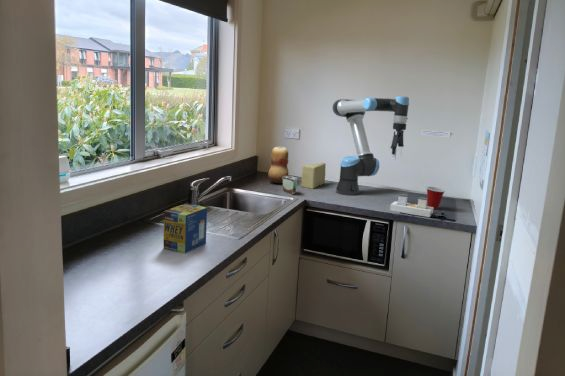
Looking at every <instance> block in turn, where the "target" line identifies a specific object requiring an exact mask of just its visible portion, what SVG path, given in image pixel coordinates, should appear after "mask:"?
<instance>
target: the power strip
mask: <svg viewBox="0 0 565 376" xmlns="http://www.w3.org/2000/svg"><path fill="white" fill-rule="evenodd" d="M417 206H418V204H416V203H410V202H409V203H408V202H407V205H406V206H403V205H398V200H395V201H393V202H392V203H390V207H389V211H391V212H397V213H402V214H403V213H404V214H409V215H415V216H421V217H426V218H431V217H432V215H433V217H438V216H444V217H445V219H446V218H447V215H445V214H439V213H434V210H435V209H434V207H428V205H427V209H421V208H417ZM444 217H443V218H444Z"/></svg>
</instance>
